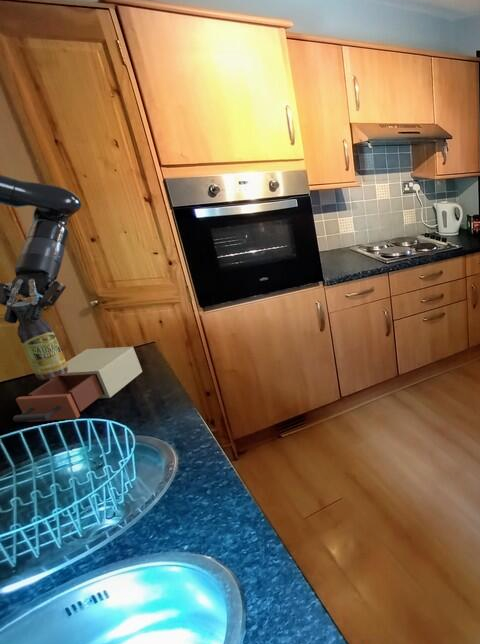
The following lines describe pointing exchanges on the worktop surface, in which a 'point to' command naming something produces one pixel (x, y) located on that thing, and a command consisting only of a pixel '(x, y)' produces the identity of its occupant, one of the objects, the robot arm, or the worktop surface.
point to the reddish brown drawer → (60, 398)
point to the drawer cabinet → (107, 367)
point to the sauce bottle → (39, 344)
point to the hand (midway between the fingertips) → (20, 321)
